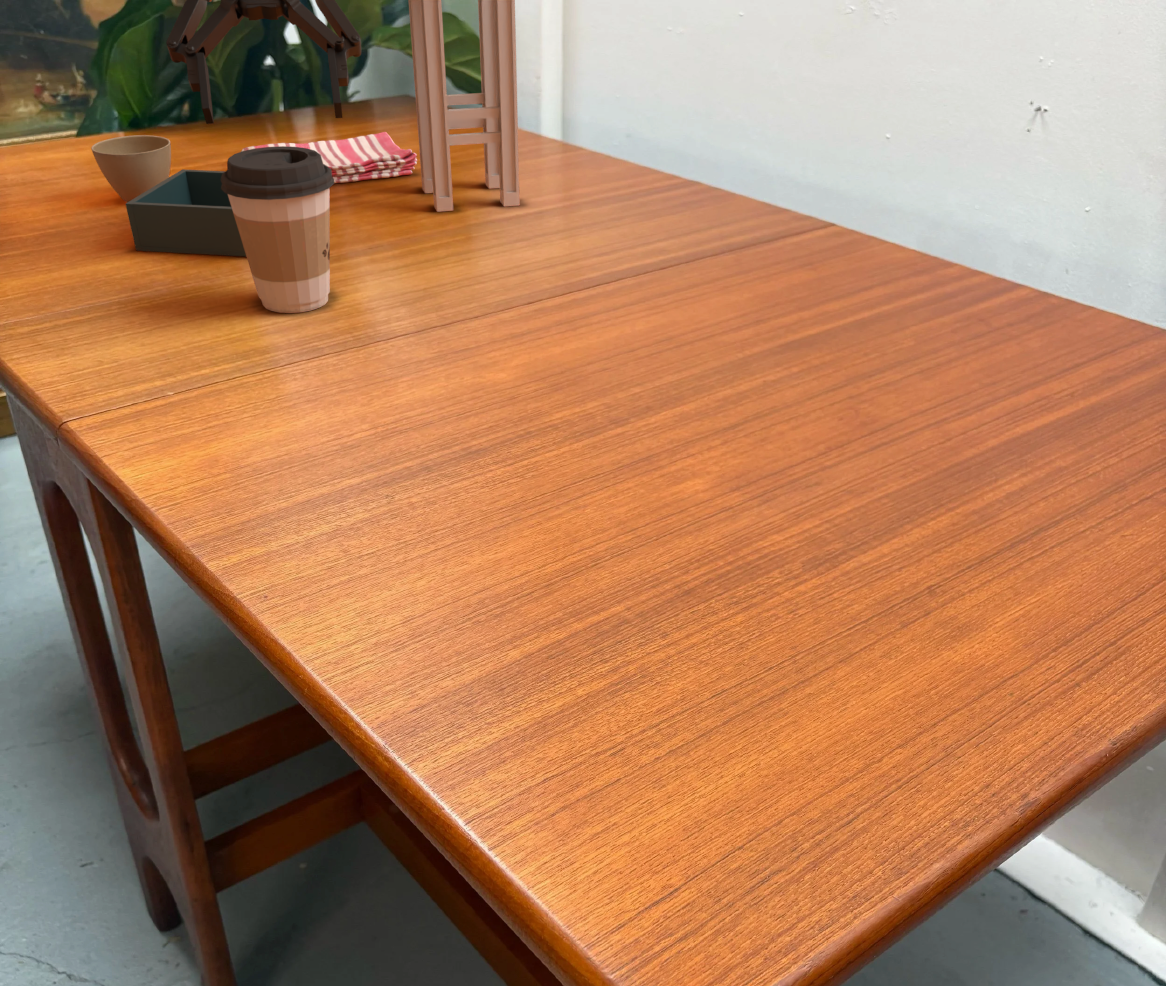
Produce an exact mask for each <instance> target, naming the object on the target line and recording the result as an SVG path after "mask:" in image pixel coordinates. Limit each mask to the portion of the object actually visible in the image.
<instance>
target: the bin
mask: <svg viewBox="0 0 1166 986" xmlns="http://www.w3.org/2000/svg"><path fill="white" fill-rule="evenodd" d="M225 171H226V170H224V171H223V170H205V169H183V168H182V169H181V170H179V171H177V172H176V173H173V174H172V175H171V176H169V178H167V179H166V180H164V181H162V182H161V183H159V184H157V185H156V186H154V187H152V188H151V189H149V190H147V191H146V192H144V193H142V194H141V195H139V196H137V197H136V198H134V199H132V200H131V201H129V202H125V208H126V212H127V217H128V222H129V225H130V229H131V235H132V239H133V244H134V248H135V251H138V252H153V253H173V254H190V255H192V254H194V255H209V256H210V255H211V256H212V255H213V256H228V257H229V256H230V257H246V253H245V250H244V247H243V243H242V240H241V237H240V233H239V230H238V227H237V224H236V220H235V217H234V214H233V210H232V207H231V204H230V200H229V197H228V194H226V193H225V192H224V191H223V190H221V186H222V183H221V176H222V173H224V172H225Z"/></svg>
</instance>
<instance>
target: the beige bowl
mask: <svg viewBox="0 0 1166 986" xmlns="http://www.w3.org/2000/svg"><path fill="white" fill-rule="evenodd" d="M171 145H172V143H171V140H170V139H169V138H166V137H164V136H158V135H146V134H138V135H137V134H135V135H125V136H118V137H112V138H108V139H104V140H100V141H98V142H96V143H94V144H93V145H92V146H91V147H90V148H91V152H92V155H93V157H94V159H95V161H96V164H97V165H98V168H99V170H100V171H101V173H102V175H103V176H104V178H105V179H106V181H107V182H108V184H109V186H111V188H112V189H113V190H114V191H115V193H117V195H118V196H119V197H120V198H121V199H122V200H123V201H124V202H125V203H127V202H129V201H131V200H132V199H134V198H136V197H137V196H139V195H141V194H142V193H144V192H146V191H147V190H149V189H151V188H152V187H154V186H156V185H157V184H159V183H161V182H162V181H164V180H166V179H167V178H169V177H170V173H171V168H172V167H171V165H172V146H171Z"/></svg>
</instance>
